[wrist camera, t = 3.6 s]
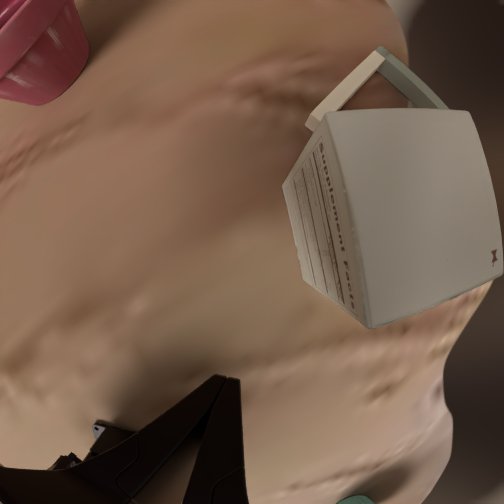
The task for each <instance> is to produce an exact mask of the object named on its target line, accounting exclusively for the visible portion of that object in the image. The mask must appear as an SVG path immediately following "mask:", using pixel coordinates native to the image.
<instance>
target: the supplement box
mask: <svg viewBox="0 0 504 504" xmlns="http://www.w3.org/2000/svg"><path fill="white" fill-rule="evenodd" d="M282 189H283V193H284V197H285V201H286V205H287V209H288V214H289V218H290V222H291V227H292V231H293V236H294V240H295V245H296V250H297V254H298V259H299V264H300V269H301V273H302V278H303V280H304V281H305V282H307V283H308V284H309V285H310V286H312V287H313V288H315V289H316V290H317V291H319V292H320V293H321V294H323V295H324V296H325V297H327V298H328V299H329V300H331V301H332V302H334V303H335V304H336V305H338V306H339V307H340V308H342V309H343V310H345V311H346V312H347V313H349V314H350V315H351V316H353V317H354V318H355V319H357V320H358V321H359V322H360V323H361V324H363V325H364V326H365V327H366V328H368V329H375V328H379V327H382V326H384V325H387V324H390V323H393V322H396V321H398V320H401V319H403V318H406V317H409V316H411V315H414V314H417V313H419V312H422V311H424V310H427V309H429V308H432V307H434V306H436V305H439V304H441V303H444V302H447V301H449V300H452V299H454V298H457V297H458V296H460V295H462V294H464V293H466V292H468V291H470V290H473V289H475V288H477V287H479V286H481V285H483V284H485V283H487V282H489V281H491V280H493V279H495V278H497V277H500V276H501V275H502V274H503V250H502V240H501V231H500V223H499V217H498V211H497V205H496V200H495V195H494V191H493V186H492V182H491V177H490V173H489V169H488V165H487V162H486V158H485V155H484V152H483V148H482V145H481V142H480V139H479V135H478V133H477V130H476V127H475V124H474V122H473V120H472V118H471V115H470V113H469V112H468V111H461V110H449V109H430V108H379V109H360V110H345V111H333V112H326V113H325V114H324V116H323V118H322V120H321V121H320V123H319V125H318V126H317V128H316V129H315V131H314V133H313V134H312V136H311V138H310V140H309V141H308V143H307V144H306V146H305V148H304V149H303V151H302V153H301V154H300V156H299V158H298V159H297V161H296V163H295V164H294V166H293V168H292V169H291V171H290V173H289V175H288V176H287V178H286V179H285V181H284V183H283V185H282Z"/></svg>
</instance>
